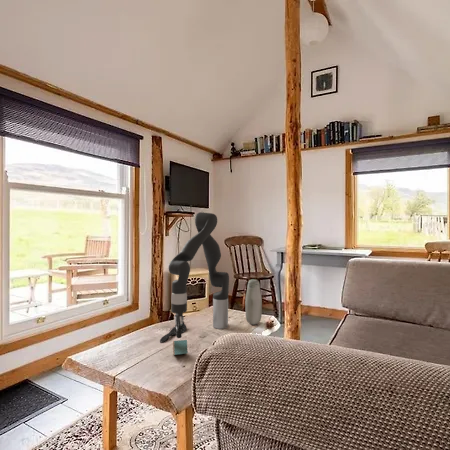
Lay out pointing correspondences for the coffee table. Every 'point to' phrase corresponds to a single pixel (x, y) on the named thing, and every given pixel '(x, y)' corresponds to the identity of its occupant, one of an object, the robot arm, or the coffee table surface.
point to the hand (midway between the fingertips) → (179, 337)
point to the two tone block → (180, 347)
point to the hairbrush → (171, 333)
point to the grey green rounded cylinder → (253, 302)
